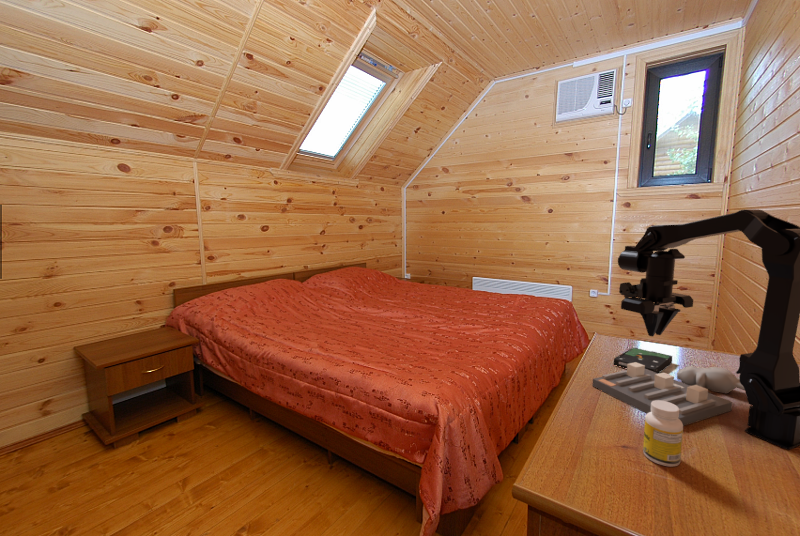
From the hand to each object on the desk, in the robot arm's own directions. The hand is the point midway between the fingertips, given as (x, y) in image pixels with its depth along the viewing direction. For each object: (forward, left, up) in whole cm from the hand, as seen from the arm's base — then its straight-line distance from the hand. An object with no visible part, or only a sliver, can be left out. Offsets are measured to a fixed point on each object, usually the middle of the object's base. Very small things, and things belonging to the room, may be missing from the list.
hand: (654, 335), depth 93 cm
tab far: (0, +6, -10) cm, 12 cm away
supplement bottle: (-22, +29, -12) cm, 38 cm away
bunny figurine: (-9, -10, -12) cm, 18 cm away
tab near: (-14, +6, -10) cm, 18 cm away
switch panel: (-7, +8, -12) cm, 16 cm away
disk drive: (+8, -8, -13) cm, 17 cm away
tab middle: (-7, +6, -10) cm, 14 cm away
